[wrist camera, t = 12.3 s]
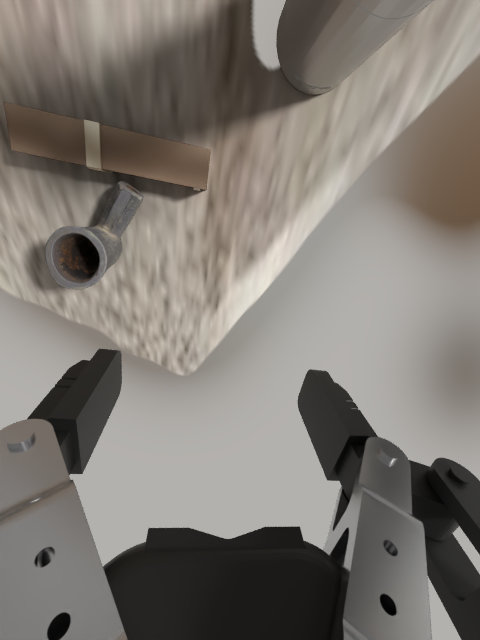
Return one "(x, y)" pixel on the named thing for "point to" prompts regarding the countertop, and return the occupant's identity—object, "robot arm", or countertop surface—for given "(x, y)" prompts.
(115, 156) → the banded brown beam
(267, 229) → the countertop surface
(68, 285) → the pipe
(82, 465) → the robot arm
